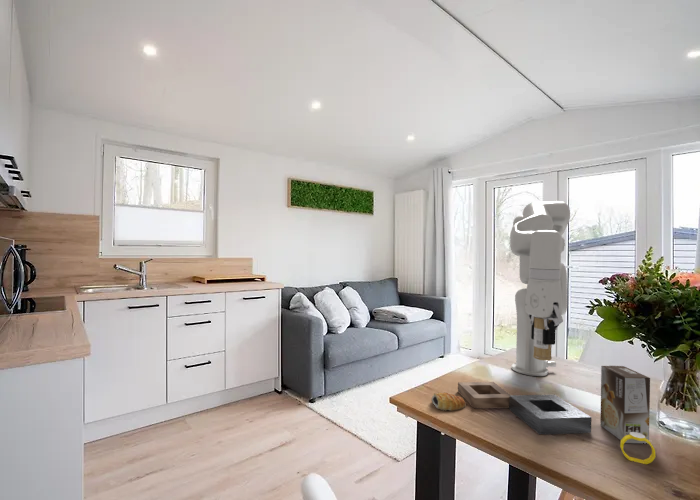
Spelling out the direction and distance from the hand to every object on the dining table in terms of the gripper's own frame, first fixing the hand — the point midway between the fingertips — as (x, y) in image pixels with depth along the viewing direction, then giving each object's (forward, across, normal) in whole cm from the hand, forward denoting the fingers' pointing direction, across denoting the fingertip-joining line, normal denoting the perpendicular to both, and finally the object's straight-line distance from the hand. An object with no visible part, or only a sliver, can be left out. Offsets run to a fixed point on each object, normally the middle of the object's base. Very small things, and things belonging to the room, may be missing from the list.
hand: (542, 341), depth 98 cm
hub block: (+21, +1, +1) cm, 21 cm away
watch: (+22, +20, +9) cm, 31 cm away
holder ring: (+21, -12, -10) cm, 27 cm away
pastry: (+22, -9, -24) cm, 33 cm away
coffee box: (+22, +9, +16) cm, 28 cm away
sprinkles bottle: (+5, 0, 0) cm, 5 cm away
